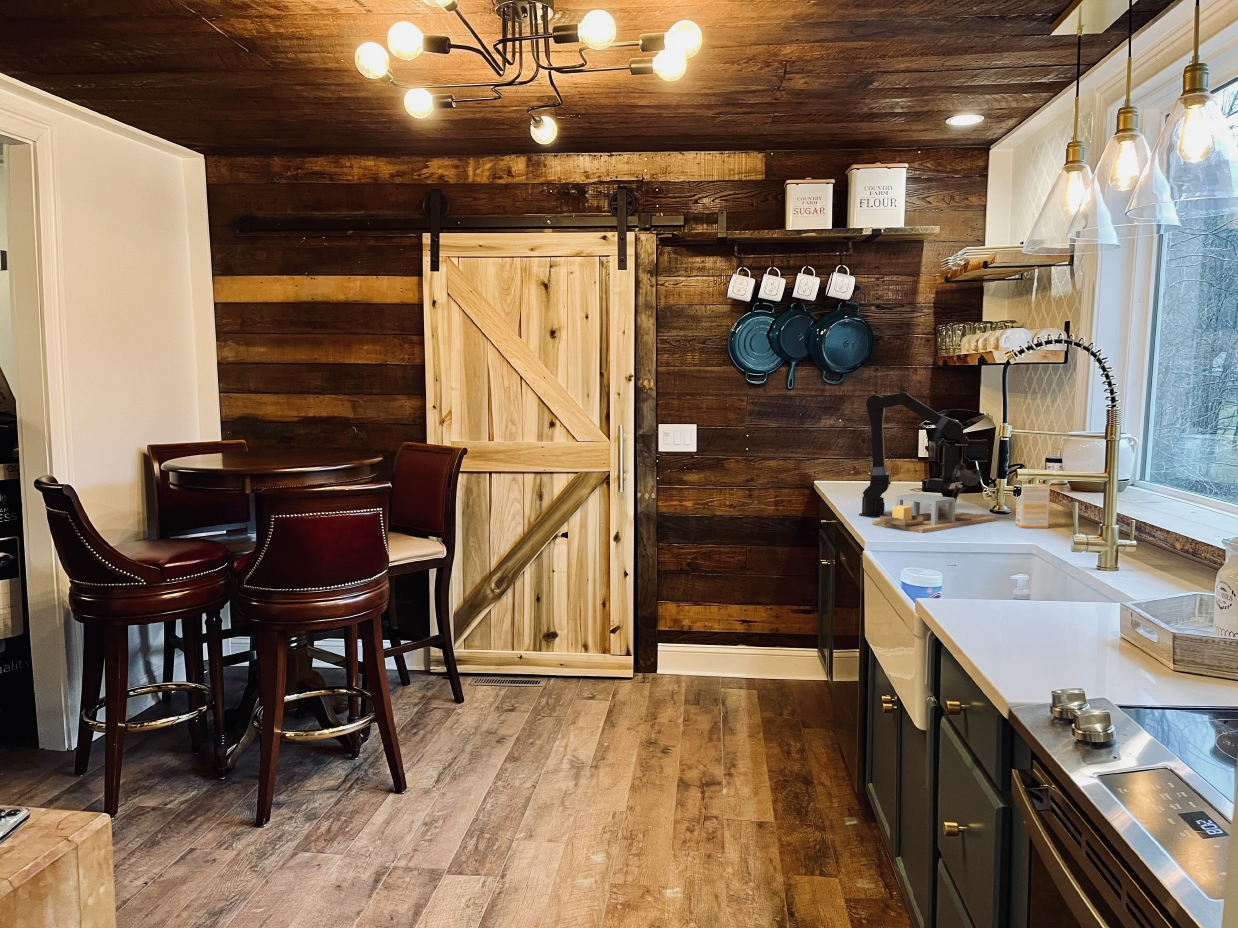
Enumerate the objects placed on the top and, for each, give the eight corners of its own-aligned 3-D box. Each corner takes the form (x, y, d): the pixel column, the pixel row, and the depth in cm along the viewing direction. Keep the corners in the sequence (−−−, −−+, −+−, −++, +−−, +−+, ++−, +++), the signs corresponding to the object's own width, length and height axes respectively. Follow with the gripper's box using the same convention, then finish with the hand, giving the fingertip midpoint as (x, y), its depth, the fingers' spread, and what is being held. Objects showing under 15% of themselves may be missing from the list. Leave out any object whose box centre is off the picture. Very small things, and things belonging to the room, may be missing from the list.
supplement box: (1042, 525, 266) (1044, 483, 265) (1048, 528, 261) (1050, 485, 260) (1014, 525, 267) (1016, 483, 266) (1020, 528, 262) (1022, 485, 261)
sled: (880, 521, 264) (880, 502, 263) (933, 513, 279) (933, 495, 278) (905, 525, 257) (905, 505, 256) (958, 517, 272) (958, 498, 271)
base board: (872, 524, 269) (872, 520, 269) (945, 513, 291) (945, 509, 290) (922, 532, 254) (922, 528, 254) (995, 520, 276) (995, 516, 276)
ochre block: (892, 519, 263) (892, 506, 263) (900, 518, 266) (901, 505, 265) (903, 521, 260) (903, 507, 260) (911, 519, 262) (912, 506, 262)
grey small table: (895, 522, 272) (896, 495, 272) (915, 519, 278) (916, 493, 277) (934, 528, 261) (935, 500, 260) (954, 525, 267) (955, 498, 266)
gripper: (957, 464, 263) (956, 515, 265) (992, 460, 274) (990, 509, 276) (926, 461, 272) (924, 510, 274) (961, 458, 283) (959, 505, 285)
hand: (950, 509), depth 277 cm, fingers closed
